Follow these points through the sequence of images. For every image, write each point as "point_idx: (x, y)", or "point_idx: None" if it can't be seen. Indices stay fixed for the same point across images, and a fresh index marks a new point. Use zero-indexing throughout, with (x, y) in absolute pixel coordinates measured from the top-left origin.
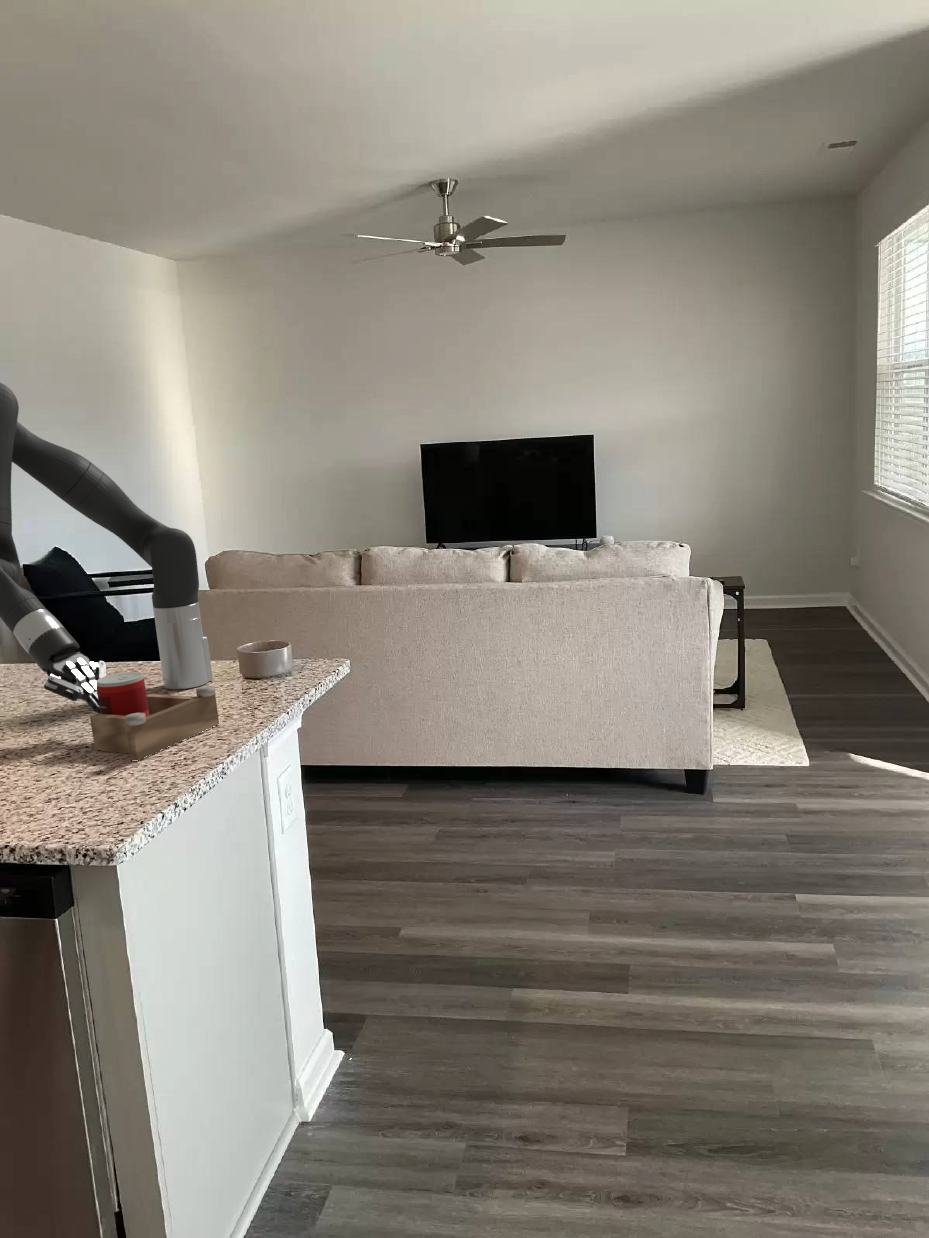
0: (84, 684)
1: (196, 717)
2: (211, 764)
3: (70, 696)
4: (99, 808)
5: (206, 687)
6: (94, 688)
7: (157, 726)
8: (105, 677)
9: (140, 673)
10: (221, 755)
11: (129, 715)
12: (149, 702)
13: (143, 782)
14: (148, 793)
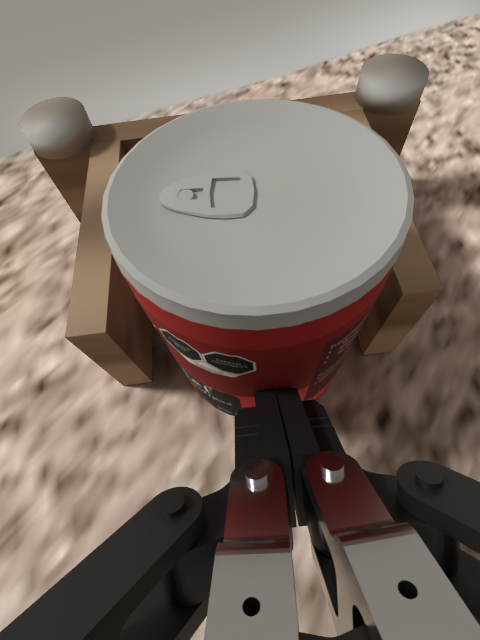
0: (360, 514)
1: None
2: (311, 72)
3: (467, 564)
4: None
5: (44, 118)
6: (283, 475)
7: None
8: (277, 294)
9: (134, 155)
10: (266, 88)
11: (403, 83)
12: (118, 317)
13: (442, 92)
14: (464, 57)
